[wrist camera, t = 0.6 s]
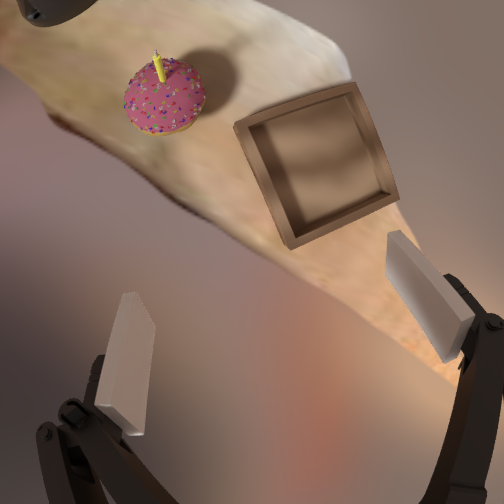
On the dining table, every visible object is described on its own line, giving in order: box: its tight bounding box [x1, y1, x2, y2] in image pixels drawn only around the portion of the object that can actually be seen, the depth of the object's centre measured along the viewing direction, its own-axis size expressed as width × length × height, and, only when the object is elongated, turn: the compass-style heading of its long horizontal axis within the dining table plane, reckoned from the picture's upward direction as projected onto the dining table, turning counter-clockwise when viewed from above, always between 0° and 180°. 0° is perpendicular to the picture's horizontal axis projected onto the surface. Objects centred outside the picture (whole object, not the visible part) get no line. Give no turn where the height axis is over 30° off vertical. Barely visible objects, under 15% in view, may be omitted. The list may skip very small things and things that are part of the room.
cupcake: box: [124, 50, 206, 137], centre depth 26 cm, size 9×8×12 cm
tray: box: [233, 82, 400, 250], centre depth 34 cm, size 15×15×4 cm
